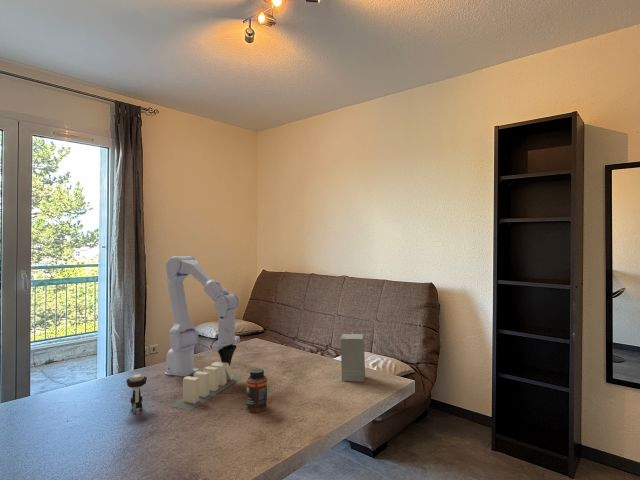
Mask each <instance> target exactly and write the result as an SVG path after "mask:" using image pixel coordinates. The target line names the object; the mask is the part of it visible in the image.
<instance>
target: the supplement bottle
mask: <svg viewBox="0 0 640 480" xmlns="http://www.w3.org/2000/svg"><path fill="white" fill-rule="evenodd" d="M249 374H250V376H249V377H247V379H246V410H247V411H249V412H250V413H261V412H263V411H265V410H267V408H268V379H267V377H266V376H265V370H264V368H260V367H257V368H256V367H255V368H251V369H250V371H249Z"/></svg>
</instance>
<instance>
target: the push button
mask: <svg viewBox="0 0 640 480" xmlns="http://www.w3.org/2000/svg"><path fill="white" fill-rule="evenodd" d="M147 380H148V377H147V376H145V375H144V373H134V374H131V375H130V376H129V378H127V379H126V386H127V387H129V388H131V389H133V390H132V397H130V411H133V413H136V415H139V414H140V412H141V409H143V396H142V395H141V388H142V387H143V386H144V385H147Z"/></svg>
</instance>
